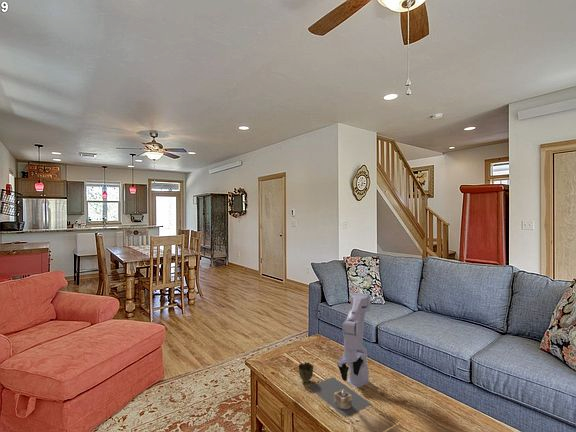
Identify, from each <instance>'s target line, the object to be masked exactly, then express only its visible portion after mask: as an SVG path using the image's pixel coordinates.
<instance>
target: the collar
mask: <svg viewBox="0 0 576 432" xmlns="http://www.w3.org/2000/svg"><path fill="white" fill-rule="evenodd" d="M342 390H344V389H342ZM342 390H340V391H338V392H335V393H334V402H335V403H336V404H337V405H339V406H340V407H341V408H342V409H343V408H345V407H347V406H349V405H351V404H352V395H351V394H349V393H348V392H347V391H346V396H345V397H341V391H342ZM344 391H345V390H344Z"/></svg>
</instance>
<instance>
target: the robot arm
mask: <svg viewBox="0 0 576 432" xmlns="http://www.w3.org/2000/svg"><path fill="white" fill-rule="evenodd" d="M349 296H350V297H349V298H350V299H349V302H350V306H351V310H349V311H348V314H347V316H346V319H345V321H343V322H342V325H341V326H342V331H341V332H342V338H343V354H342V357H341V358H340V359H339V360H337V362H336V366H337V368H338V370H339V372H340V376H341V380H342V381H345V382H347V383H348V384H349V385H351V386H353V387H354V388H356V389H358V388H360V387H363V386H366V385H367V384H369V383H370V380H369V374H370V372H369V370H370V369H369V365H368V350H367V348H366V347H365V346H364V345H363V342H364V341H363V339H364V329H365V319H366V314H367V313H368V312H369V311H370V308H371V302H372V301H371V300H372V299H371V294H370V293H364V292H363V293H361V292H354V291H351V293H350V295H349ZM346 364H347V365H346ZM348 375H349V376H348Z"/></svg>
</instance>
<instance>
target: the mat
mask: <svg viewBox="0 0 576 432" xmlns="http://www.w3.org/2000/svg"><path fill="white" fill-rule="evenodd" d="M307 387H308V388H309V389H310V390H311V391H312V392H314V393H315V394H316V395H317V396H319V397H320V398H321V399H322V400H323V401H324V402H325V403H327V404H328V405H329V406H330V407H332V408H333V409H334V410H335V411H336V412H338V413H339V414H340V415H341V416H343V417H344V418H347V417H349V416H352V415H354V414H356V413H358V412H360V411H361V410H363V409H365V408H367V407H370V406H371V405H373V404H372V402H370V401H368V400H367V399H365V398H364V397H363V396H362V395H359V394H358V393H357V392H356V391H354V390H353V389H351V388H350V387H348V386H347V385H346V384H345V383H343V382H341V381H340V380H338V379H337V378H336V377H334V376H332V377H330V378H327V379H324V380H321V381H318V382H316V383H314V384H310V385H309V386H307ZM342 389H344V390H345V391H347V392H348V393H349V394H351V395H352V406H351V408H350V409H348V410H341V409H339V408H337V407H336V405H335V402H334V393H335V392H338V391H340V390H342Z"/></svg>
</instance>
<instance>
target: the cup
mask: <svg viewBox="0 0 576 432" xmlns="http://www.w3.org/2000/svg"><path fill="white" fill-rule="evenodd" d="M298 373H299V377H300V379H302V380H301V381H302V382H303V383H304V384H308V383H309V382H310V380H311V379H312V377H313V374H314V365H313V364H312V363H310V362H304V363H303V362H300V363H299V364H298Z"/></svg>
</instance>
